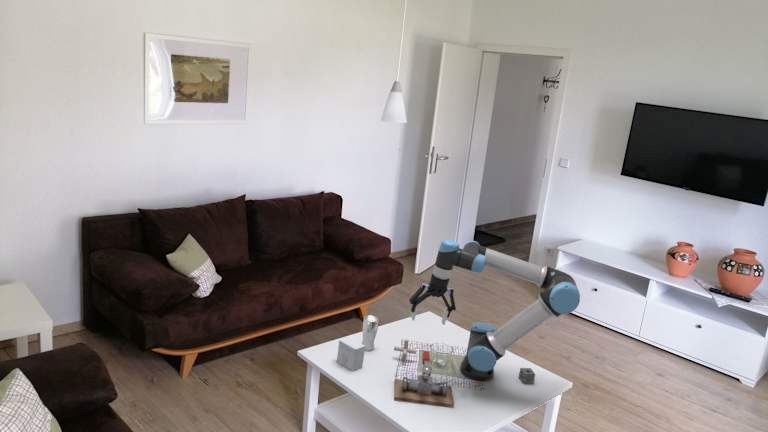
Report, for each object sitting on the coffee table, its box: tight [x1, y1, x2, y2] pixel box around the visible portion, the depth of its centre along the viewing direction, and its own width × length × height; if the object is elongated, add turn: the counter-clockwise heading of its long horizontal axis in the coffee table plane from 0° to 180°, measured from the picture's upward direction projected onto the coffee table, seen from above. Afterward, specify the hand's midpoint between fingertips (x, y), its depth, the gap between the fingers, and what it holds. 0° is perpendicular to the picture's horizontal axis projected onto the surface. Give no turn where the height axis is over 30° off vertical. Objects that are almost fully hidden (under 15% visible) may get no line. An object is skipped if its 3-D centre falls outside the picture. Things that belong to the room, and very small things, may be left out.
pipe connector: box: [393, 338, 417, 362], centre depth 278 cm, size 10×10×10 cm
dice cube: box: [518, 367, 536, 385], centre depth 274 cm, size 5×5×5 cm
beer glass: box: [361, 314, 379, 352], centre depth 284 cm, size 7×7×15 cm
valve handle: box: [421, 350, 433, 377], centre depth 257 cm, size 4×16×3 cm, turn 179°
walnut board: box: [393, 378, 455, 409], centre depth 253 cm, size 24×14×2 cm, turn 89°
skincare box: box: [336, 336, 365, 372], centre depth 269 cm, size 10×6×10 cm, turn 48°
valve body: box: [402, 374, 448, 396], centre depth 252 cm, size 18×6×8 cm, turn 89°
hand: (427, 321), depth 260 cm, fingers open, 13 cm apart
